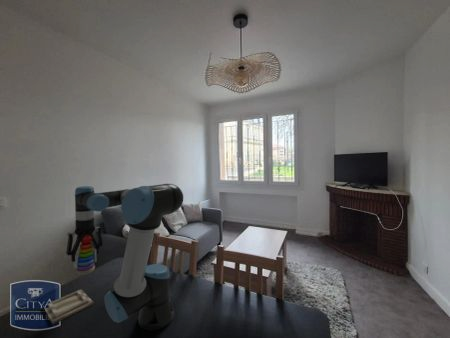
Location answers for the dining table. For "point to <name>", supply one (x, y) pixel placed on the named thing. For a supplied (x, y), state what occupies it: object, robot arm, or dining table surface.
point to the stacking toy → (85, 257)
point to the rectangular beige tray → (67, 306)
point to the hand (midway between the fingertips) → (85, 264)
